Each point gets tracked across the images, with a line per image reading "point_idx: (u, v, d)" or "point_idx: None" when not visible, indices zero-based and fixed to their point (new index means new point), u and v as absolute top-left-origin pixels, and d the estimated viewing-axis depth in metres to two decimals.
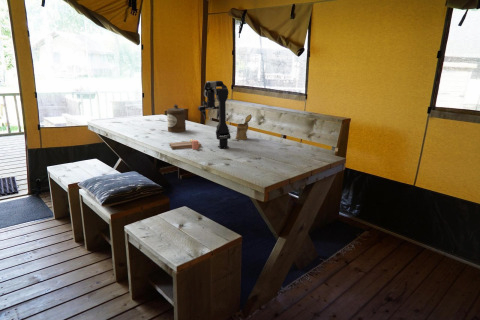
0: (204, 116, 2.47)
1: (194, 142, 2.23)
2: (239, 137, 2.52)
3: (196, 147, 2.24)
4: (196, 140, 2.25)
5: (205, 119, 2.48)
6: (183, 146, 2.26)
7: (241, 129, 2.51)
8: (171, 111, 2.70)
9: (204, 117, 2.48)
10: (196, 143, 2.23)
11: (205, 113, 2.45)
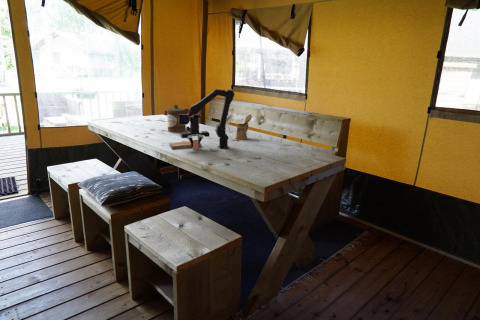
0: (191, 143, 2.23)
1: (194, 142, 2.23)
2: (239, 137, 2.52)
3: (196, 147, 2.24)
4: (196, 140, 2.25)
5: (192, 146, 2.24)
6: (183, 146, 2.26)
7: (241, 129, 2.51)
8: (171, 111, 2.70)
9: (191, 144, 2.24)
10: (196, 143, 2.23)
11: (192, 140, 2.21)
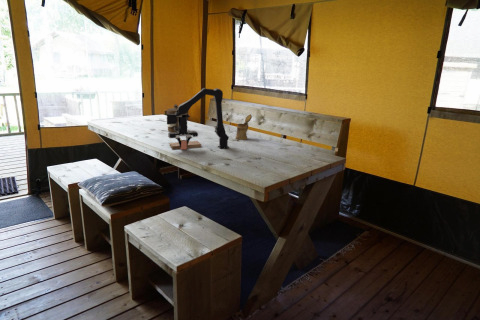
0: (179, 143, 2.20)
1: (182, 142, 2.20)
2: (239, 137, 2.52)
3: (184, 147, 2.21)
4: (184, 140, 2.22)
5: None
6: None
7: (241, 129, 2.51)
8: (171, 111, 2.70)
9: (179, 144, 2.21)
10: (184, 143, 2.20)
11: (180, 140, 2.18)
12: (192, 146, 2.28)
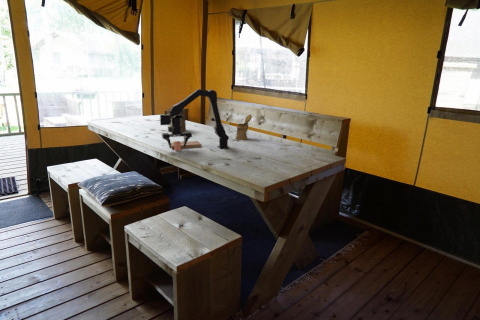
0: (169, 144, 2.17)
1: (176, 143, 2.18)
2: (239, 137, 2.52)
3: (178, 148, 2.20)
4: (178, 141, 2.21)
5: (170, 148, 2.19)
6: (183, 146, 2.26)
7: (241, 129, 2.51)
8: None
9: (169, 145, 2.19)
10: (178, 144, 2.19)
11: None
12: (192, 146, 2.28)
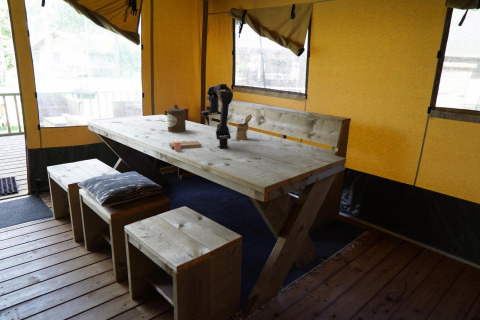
0: (207, 122, 2.40)
1: (176, 143, 2.18)
2: (239, 137, 2.52)
3: (178, 148, 2.20)
4: (178, 141, 2.21)
5: (208, 125, 2.42)
6: (183, 146, 2.26)
7: (241, 129, 2.51)
8: (171, 111, 2.70)
9: None
10: (178, 144, 2.19)
11: (208, 118, 2.39)
12: (192, 146, 2.28)
